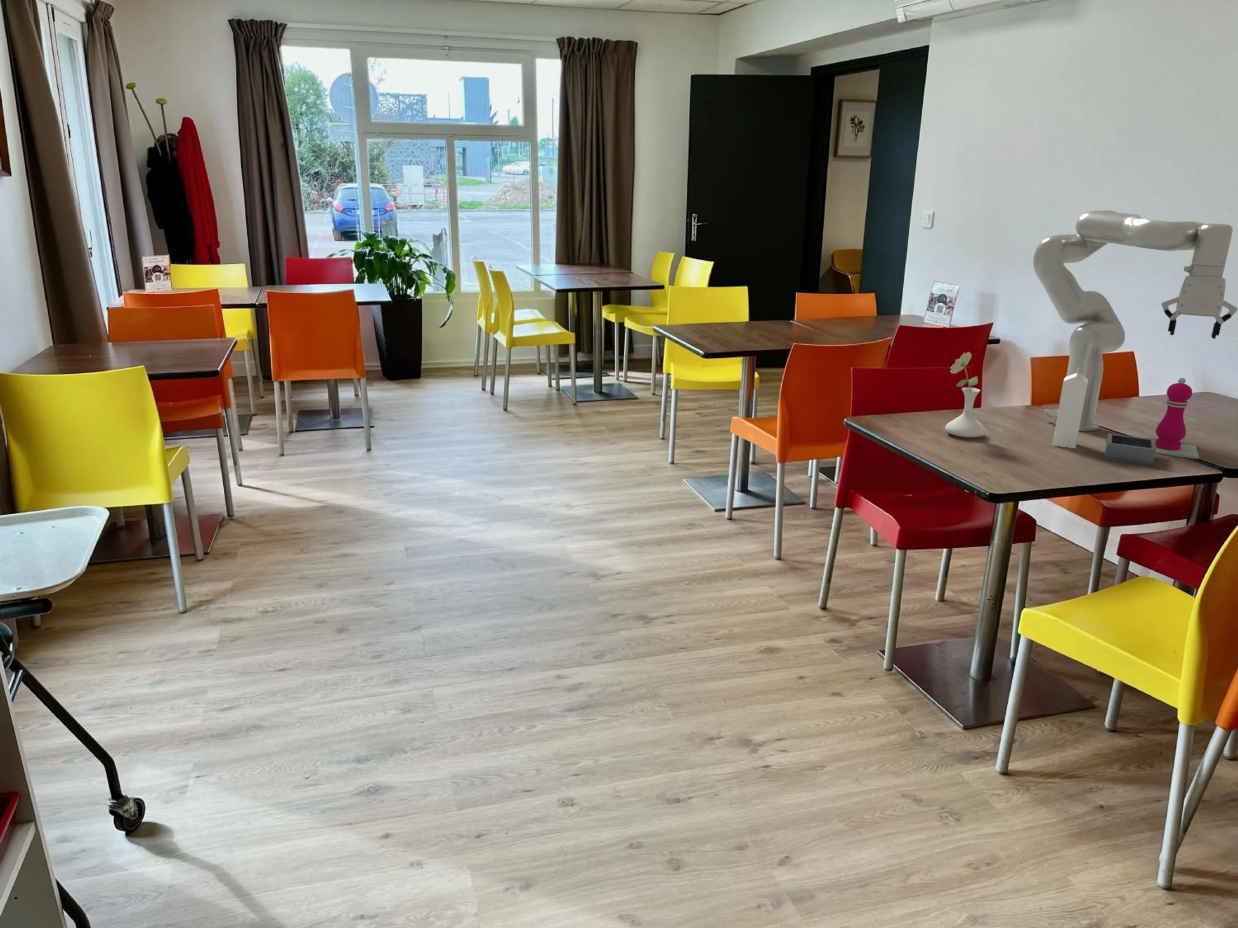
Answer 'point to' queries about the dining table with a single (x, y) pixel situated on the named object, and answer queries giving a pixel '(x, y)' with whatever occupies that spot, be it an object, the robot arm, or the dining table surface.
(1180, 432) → the pepper mill
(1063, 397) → the milk
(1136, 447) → the grey open storage bin
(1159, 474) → the dining table surface
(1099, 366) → the robot arm
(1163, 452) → the mat
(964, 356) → the flower in vase
